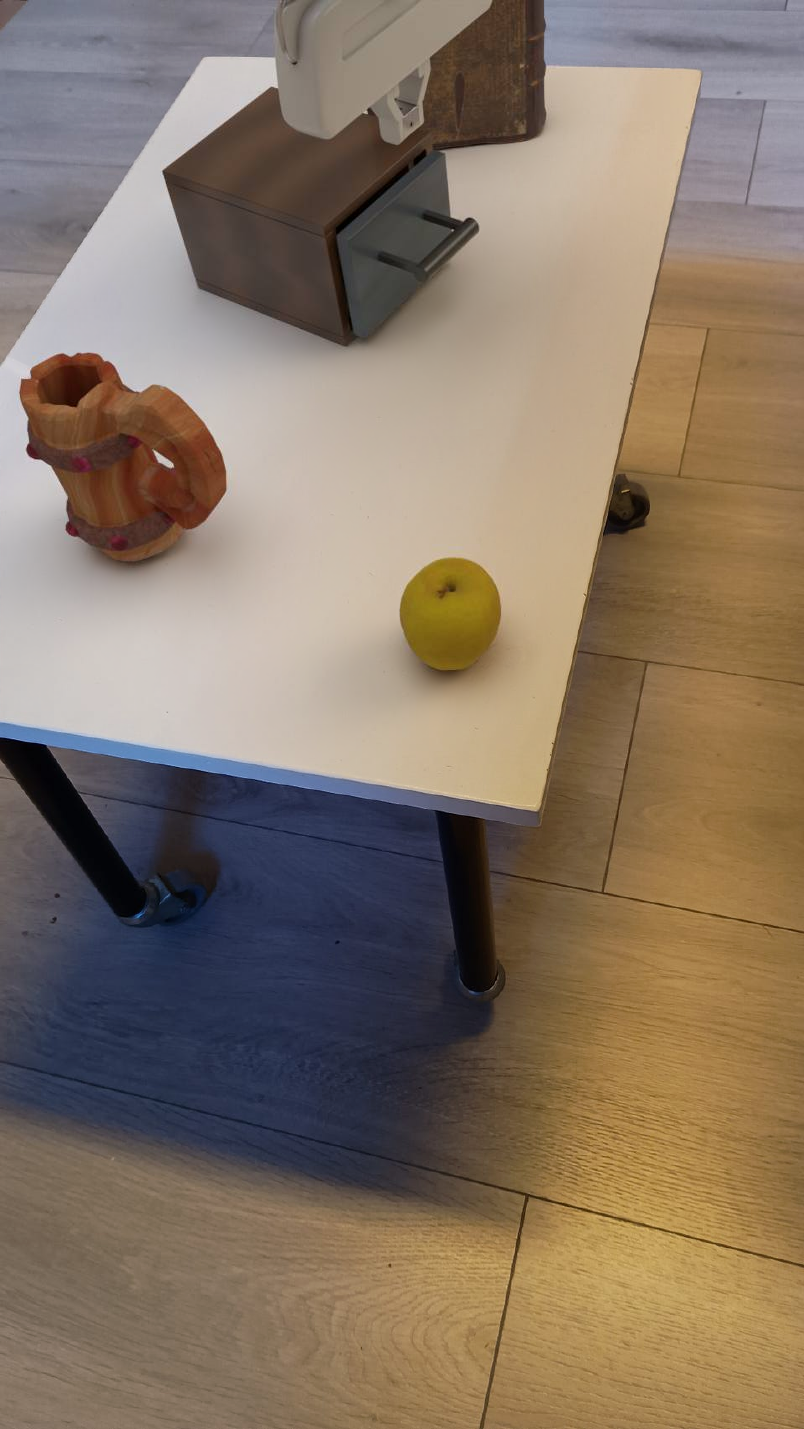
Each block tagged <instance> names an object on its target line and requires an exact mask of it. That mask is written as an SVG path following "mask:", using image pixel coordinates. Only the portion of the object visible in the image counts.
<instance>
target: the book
mask: <svg viewBox="0 0 804 1429" xmlns="http://www.w3.org/2000/svg"><path fill="white" fill-rule="evenodd" d="M546 28H547V22H546V19H545V0H492V3H491V6H490V8H489V9H488V10H487V11H485V12H484V13H483V14H482V15H480V16H479V17H478V18H477V19H476V20H474V21H473V22H472V23H471V24H470V25H468V26H467V27H466V28H465V29H464V30H462V31H461V32H460V33H459V34H457V35H456V36H455V37H454V38H453V39H451V40H450V41H449V42H448V43H447V44H445V45H444V46H443V47H442V48H441V49H439V50H438V51H437V52H436V53H434V54H433V55H432V56H431V57H430V67H431V71H430V75H429V79H428V83H427V87H426V91H425V95H424V99H423V101H422V105H423V117H424V122H423V124H422V125H421V126H420V127H418V128H417V129H421V130H424V131H428V132H431V137H432V146H433V150H441V149H445V148H451V147H463V146H470V145H478V144H508V143H517V142H522V141H528V140H530V139H531V138H533V136H537V135H538V134H539V133H540V132H541V131H542V130H543V129H544V127H545V124H546V121H547V110H546V103H545V77H546V72H547V71H546V70H547V63H546V61H545V32H546ZM398 84H399V83H398ZM394 100H395V101H396V100H397V98H394ZM366 112H367V113H366V114H368V115H372V116H375V117H377V116H376V114H375V113H374V112H373V110H372V109H371V108H370V107H369V108H368V109H367V110H366Z"/></svg>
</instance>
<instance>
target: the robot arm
mask: <svg viewBox="0 0 804 1429" xmlns="http://www.w3.org/2000/svg"><path fill="white" fill-rule="evenodd" d="M491 3H492V0H278V3H277V5H276V6H275V8H274V14H273V15H274V17H273V18H274V19H273V20H274V29H273V42H274V58H275V59H274V60H275V70H276V71H275V72H276V79H277V80H276V81H277V88H278V90H279V98H280V104H281V110H282V115H283V118H284V120H285V121H286V122H287V123H288V124H289V125H290V126H291V127H292V128H294V129H295V130H297V131H299V132H302V133H305V134H308V135H311V136H314V137H318V138H322V139H331V138H333V137H334V136H336V135H337V134H338V133H339V132H340V131H342V130H343V129H344V128H345V127H346V126H348V125H349V124H350V123H351V122H352V121H354V120H355V119H356V118H357V117H358V116H360V115H361V114H362V113H365V112H367V109H368V108H369V107H370V108H371V109H372V110H373V112H374V113H375V114H376V116H377V117H378V119H379V126H380V134H381V137H382V139H383V140H384V141H385V142H388V143H392V144H395V145H399V144H400V143H401V142H402V141H404V140H405V139H406V138H407V137H408V136H409V135H410V134H411V133H412V132H414V131H415V130H416V129H417V128H418V127H420V126H421V125H422V124H423V122H424V117H423V105H422V101H423V99H424V95H425V91H426V87H427V83H428V79H429V75H430V71H431V67H430V57H431V56H432V55H433V54H434V53H436V52H437V51H438V50H439V49H441V48H442V47H443V46H444V45H445V44H447V43H448V42H449V41H450V40H451V39H453V38H454V37H455V36H456V35H457V34H459V33H460V32H461V31H462V30H464V29H465V28H466V27H467V26H468V25H470V24H471V23H472V22H473V21H474V20H476V19H477V18H478V17H479V16H480V15H482V14H483V13H484V12H485V11H487V10H488V9H489V8H490V6H491ZM398 83H399V84H398ZM394 98H397V100H396V101H395V100H394Z"/></svg>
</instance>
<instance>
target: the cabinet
mask: <svg viewBox="0 0 804 1429" xmlns="http://www.w3.org/2000/svg"><path fill="white" fill-rule="evenodd" d="M433 150H434V149H433V146H432V137H431V132H428V131H424V130H421V129H416V130H415V131H414V132H412V133H411V134H410V135H409V136H408V137H407V138H406V139H405V140H404V141H402V142H401V143H400V144H399V145H395V144H392V143H388V142H385V141H384V140H383V139H382V137H381V134H380V126H379V119H378V117H375V116H372V115H368V113H366V112H363V113H362V114H361V115H360V116H358V117H357V118H356V119H355V120H354V121H352V122H351V123H350V124H349V125H348V126H346V127H345V128H344V129H343V130H342V131H340V132H339V133H338V134H337V135H336V136H334V137H333V138H331V139H322V138H318V137H314V136H311V135H308V134H305V133H302V132H299V131H297V130H295V129H294V128H292V127H291V126H290V125H289V124H288V123H287V122H286V121H285V120H284V118H283V115H282V110H281V104H280V98H279V90H278V87H274V86H270V87H268V88H267V89H266V90H265V91H263V92H262V93H260V94H259V95H258V96H257V97H255V98H254V99H253V100H251V101H250V102H248V104H246V105H245V106H244V107H243V108H241V109H240V110H238V111H237V112H236V113H235V114H233V115H232V116H231V117H229V118H227V120H226V121H224V122H223V123H222V124H220V125H219V126H218V127H217V128H215V129H214V130H213V131H212V132H210V133H209V134H208V135H206V136H205V137H203V138H202V139H201V140H200V141H198V142H197V143H196V144H195V145H194V146H192V147H190V149H189V148H188V150H187V151H185V152H184V153H183V154H182V155H180V156H179V157H178V158H176V159H175V160H174V161H172V162H171V163H170V164H169V165H167V166H166V167H165V168H163V169H162V170H161V174H162V175H163V179H164V183H165V187H166V189H167V192H168V196H169V200H170V202H171V206H172V208H173V212H174V215H175V219H176V222H177V224H178V228H179V232H180V234H181V238H182V241H183V244H184V247H185V251H186V254H187V257H188V260H189V264H190V267H191V271H192V273H193V277H194V279H195V283H196V286H197V288H199V289H202V290H204V291H206V292H208V293H212V294H214V295H217V296H219V297H221V298H224V299H227V300H229V301H231V302H234V303H236V304H239V305H241V306H244V307H247V308H249V309H251V310H254V311H257V312H259V313H262V314H265V315H267V316H269V317H271V318H274V319H276V320H279V321H281V322H284V323H286V324H289V325H292V326H294V327H296V328H300V329H302V330H304V331H306V332H309V333H311V334H314V335H317V336H319V337H321V338H324V339H327V340H329V341H332V342H335V343H337V344H340V345H342V346H344V347H347V346H348V345H349V344H350V343H351V342H352V341H354V340H355V338H356V337H357V336H356V335H354V332H353V327H352V321H351V316H349V317H348V314H347V308H346V303H345V297H344V292H343V287H342V281H341V276H340V270H339V265H338V259H337V254H336V248H335V243H334V238H333V232H332V231H333V230H334V229H335V228H336V227H337V226H338V225H339V224H341V223H342V222H343V221H344V220H345V219H346V218H347V217H349V216H350V215H351V214H352V213H353V212H354V211H355V210H357V209H358V208H359V207H360V206H361V205H362V204H363V203H364V202H366V201H367V200H368V199H369V198H370V197H371V196H372V195H374V194H375V193H376V192H377V191H378V190H379V189H380V188H382V187H383V186H384V185H385V184H386V183H387V182H388V181H389V180H391V179H392V178H393V177H394V176H395V175H396V174H397V173H399V172H400V171H401V170H402V169H403V168H404V167H405V166H407V165H408V164H409V163H410V162H411V161H412V160H413V159H414V166H416V165H417V164H418V163H419V162H420V161H421V160H422V159H424V158H425V157H426V156H427V155H428V154H429V153H430V152H431V151H433Z"/></svg>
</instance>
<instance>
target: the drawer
mask: <svg viewBox="0 0 804 1429" xmlns="http://www.w3.org/2000/svg"><path fill="white" fill-rule="evenodd" d="M446 158H447V157H446V153H445V152H443V151H439V150H437V149H433V151H431V152H430V153H429V154H428V155H427V156H426V157H425V158H424V159H422V160H421V161H420V162H419V163H418V164H417V165H416V166H414V159H413V160H412V161H411V162H410V163H409V164H408V165H407V166H405V167H404V168H403V169H402V170H401V171H400V172H399V173H397V174H396V175H395V176H394V177H393V178H392V179H391V180H389V181H388V182H387V183H386V184H385V185H384V186H383V187H382V188H380V189H379V190H378V191H377V192H376V193H375V194H374V195H372V196H371V197H370V198H369V199H368V200H367V201H366V202H364V203H363V204H362V205H361V206H360V207H359V208H358V209H357V210H355V211H354V212H353V213H352V214H351V215H350V216H349V217H347V218H346V219H345V220H344V221H343V222H342V223H341V224H339V225H338V226H337V227H336V228H335V229H334V230H333V231H332V232H333V238H334V243H335V248H336V254H337V259H338V265H339V270H340V276H341V281H342V287H343V292H344V297H345V303H346V308H347V314H348V317H349V316H351V321H352V327H353V332H354V335H356V337H359V338H362V339H367V338H368V337H369V336H370V335H371V334H372V333H373V332H374V331H375V330H376V329H378V327H379V326H380V325H381V324H383V323H384V321H385V320H386V319H388V317H390V316H391V315H392V314H393V313H394V312H395V311H396V310H397V309H398V308H399V307H400V306H401V305H402V304H403V303H404V302H405V301H406V300H407V299H408V298H409V297H411V295H412V294H414V293H415V292H416V291H417V290H418V289H419V288H420V287H421V286H422V285H423V284H426V283H427V282H429V280H431V278H433V277H434V276H435V275H436V274H437V273H438V272H439V271H440V270H441V269H442V268H443V267H444V266H445V265H446V264H447V263H448V262H449V261H450V260H451V259H452V258H454V256H455V255H457V254H458V253H459V252H460V251H461V250H462V249H463V247H465V246H466V245H467V244H468V243H469V242H470V241H471V240H472V239H473V238H474V237H475V236H476V235H477V234H478V233H479V232H480V225H479V222H478V221H477V220H476V219H474V218H473V217H471V216H469V217H467V218H465V219H464V220H461V219H457V218H454V217H452V216H451V204H450V194H449V181H448V180H449V179H448V170H447V169H448V168H447V159H446Z"/></svg>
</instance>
